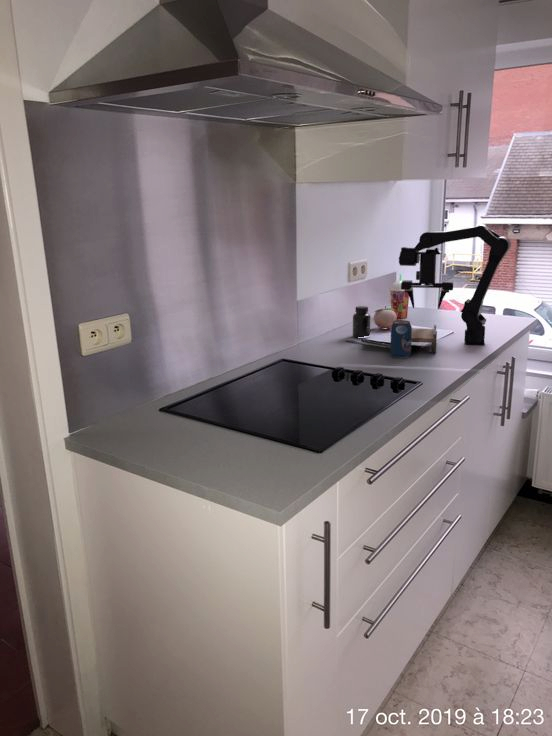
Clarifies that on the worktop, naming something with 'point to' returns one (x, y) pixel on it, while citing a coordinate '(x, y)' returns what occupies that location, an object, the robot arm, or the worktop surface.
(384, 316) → the decorative fruit
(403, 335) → the soda can
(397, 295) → the smoothie
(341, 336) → the worktop surface
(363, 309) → the supplement bottle
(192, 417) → the worktop surface
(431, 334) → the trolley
